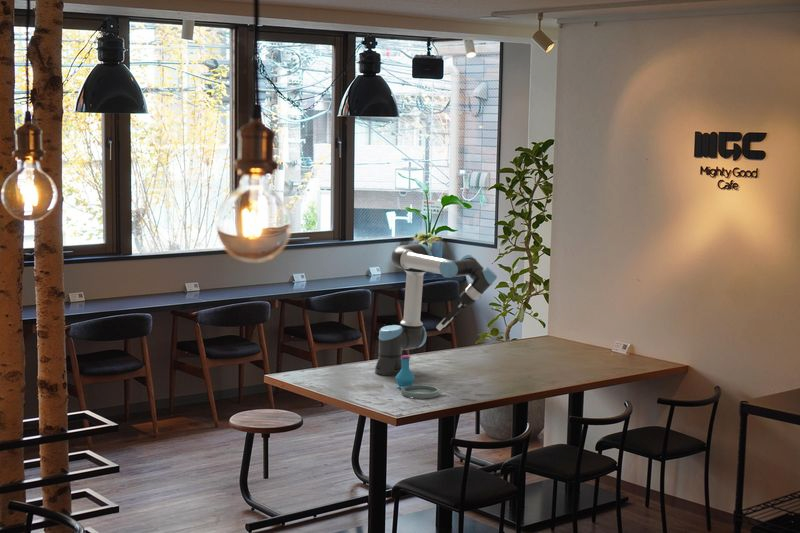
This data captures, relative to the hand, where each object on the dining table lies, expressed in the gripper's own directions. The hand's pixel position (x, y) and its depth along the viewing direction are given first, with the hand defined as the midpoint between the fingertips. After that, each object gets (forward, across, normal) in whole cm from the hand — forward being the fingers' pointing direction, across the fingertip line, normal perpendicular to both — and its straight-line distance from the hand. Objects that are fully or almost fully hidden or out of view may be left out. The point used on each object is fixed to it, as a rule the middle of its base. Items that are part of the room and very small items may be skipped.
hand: (440, 327), depth 491 cm
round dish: (+25, -19, -15) cm, 35 cm away
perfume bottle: (+31, -7, -8) cm, 33 cm away
